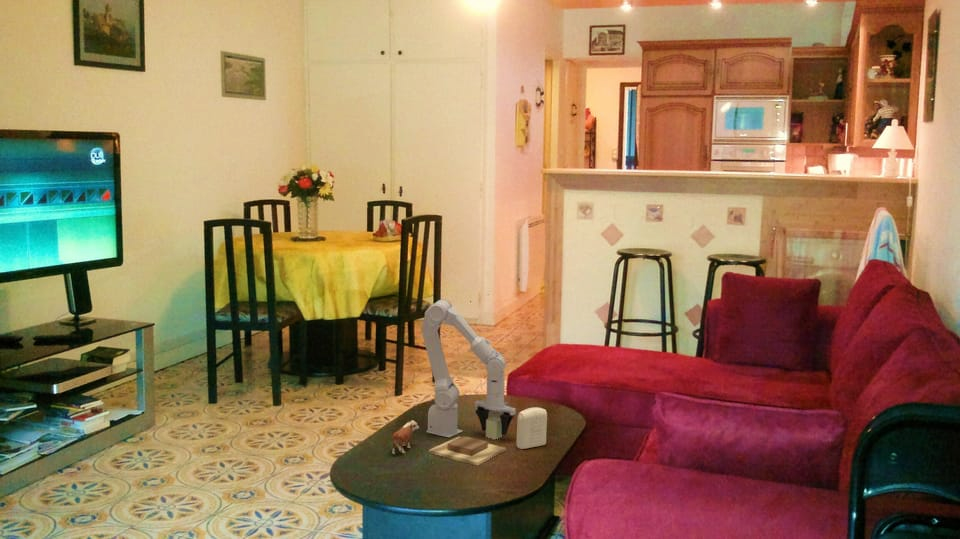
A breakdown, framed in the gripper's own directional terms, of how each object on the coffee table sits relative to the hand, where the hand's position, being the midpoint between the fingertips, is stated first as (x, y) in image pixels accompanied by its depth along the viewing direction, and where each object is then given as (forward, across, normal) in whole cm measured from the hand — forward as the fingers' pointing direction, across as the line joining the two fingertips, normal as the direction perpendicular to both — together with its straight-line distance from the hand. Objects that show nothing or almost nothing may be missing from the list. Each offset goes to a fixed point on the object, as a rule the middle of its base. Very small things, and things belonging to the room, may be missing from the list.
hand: (494, 432), depth 283 cm
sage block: (+2, 0, 0) cm, 2 cm away
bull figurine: (+2, +16, +27) cm, 31 cm away
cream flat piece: (+2, -1, +17) cm, 17 cm away
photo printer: (+2, -14, 0) cm, 14 cm away
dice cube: (+2, +11, -20) cm, 23 cm away
